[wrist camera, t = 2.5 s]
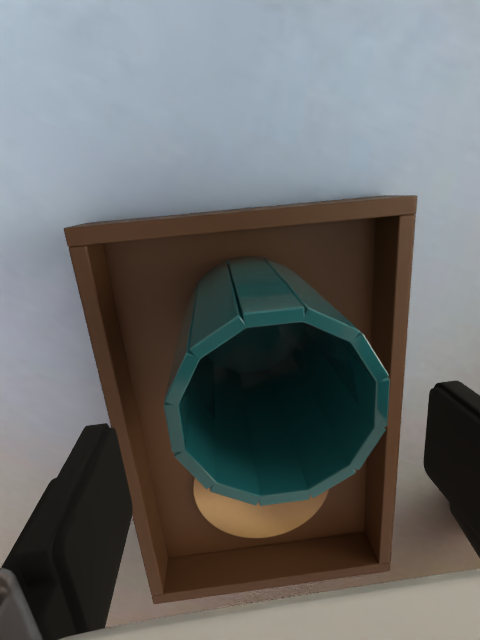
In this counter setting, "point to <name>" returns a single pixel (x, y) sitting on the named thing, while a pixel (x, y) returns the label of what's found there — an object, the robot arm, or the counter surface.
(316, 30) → the counter surface
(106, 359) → the tray
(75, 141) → the counter surface
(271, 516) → the coaster
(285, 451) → the cup
